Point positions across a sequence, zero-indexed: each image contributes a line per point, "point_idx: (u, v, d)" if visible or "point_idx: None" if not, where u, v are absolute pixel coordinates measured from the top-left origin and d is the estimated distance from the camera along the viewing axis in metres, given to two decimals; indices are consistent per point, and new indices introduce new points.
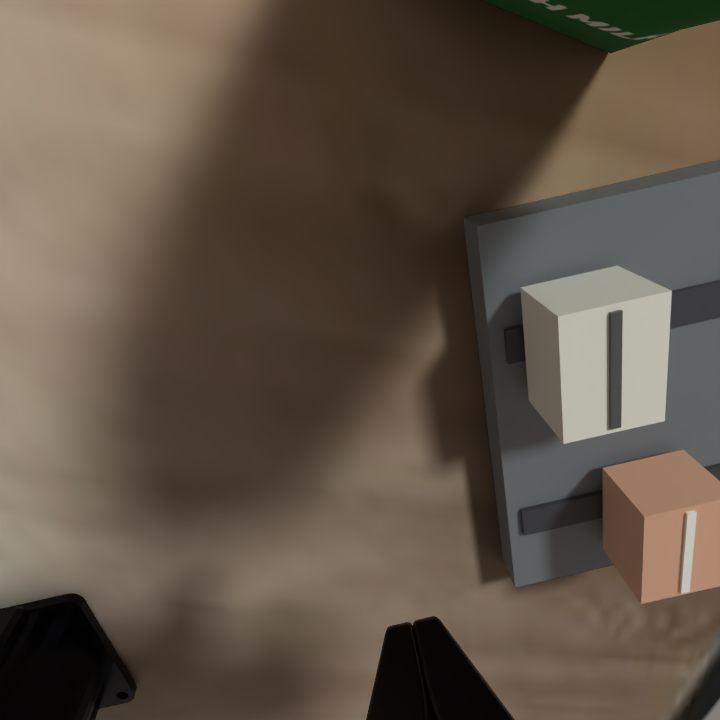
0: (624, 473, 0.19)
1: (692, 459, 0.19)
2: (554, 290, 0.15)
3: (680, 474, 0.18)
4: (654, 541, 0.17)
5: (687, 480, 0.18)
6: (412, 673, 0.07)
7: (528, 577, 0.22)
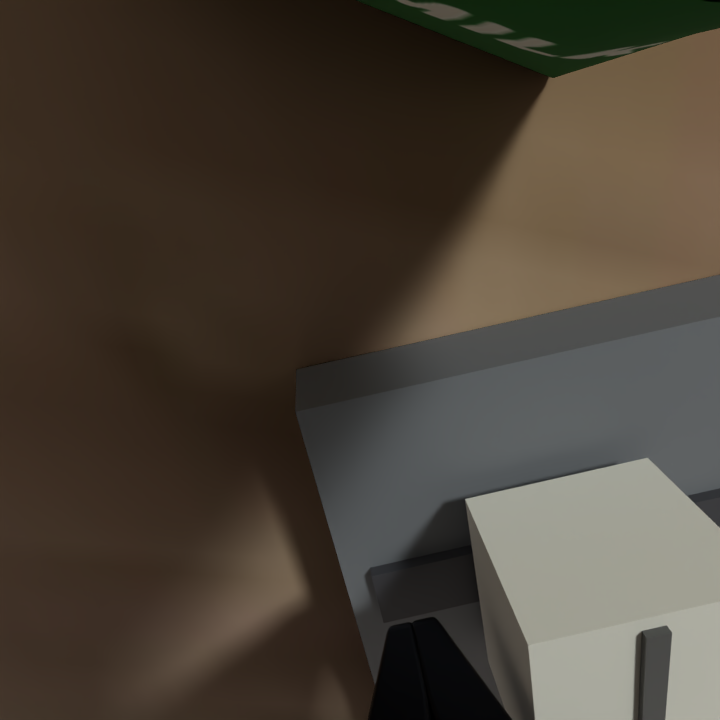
0: None
1: None
2: (527, 527, 0.08)
3: None
4: None
5: None
6: (414, 673, 0.07)
7: None
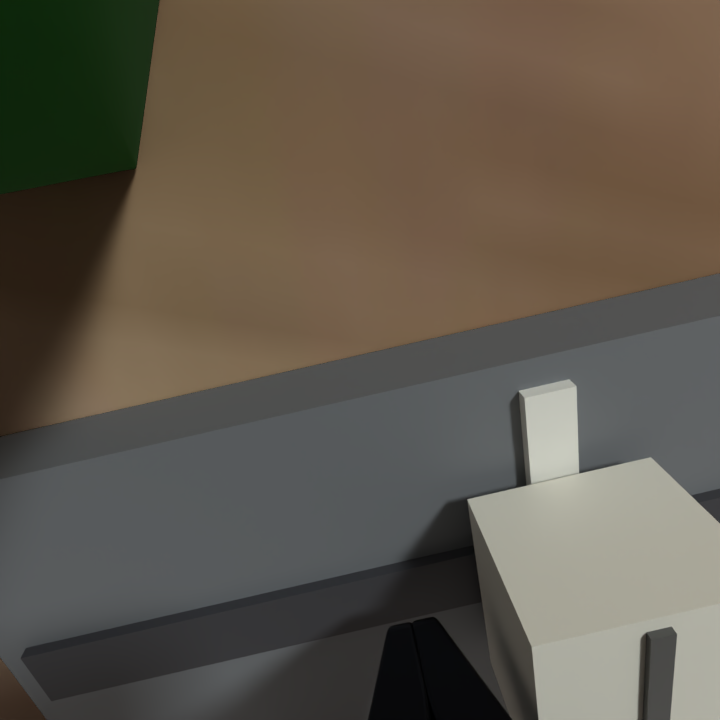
0: None
1: None
2: (529, 527, 0.08)
3: None
4: None
5: None
6: (413, 673, 0.07)
7: None
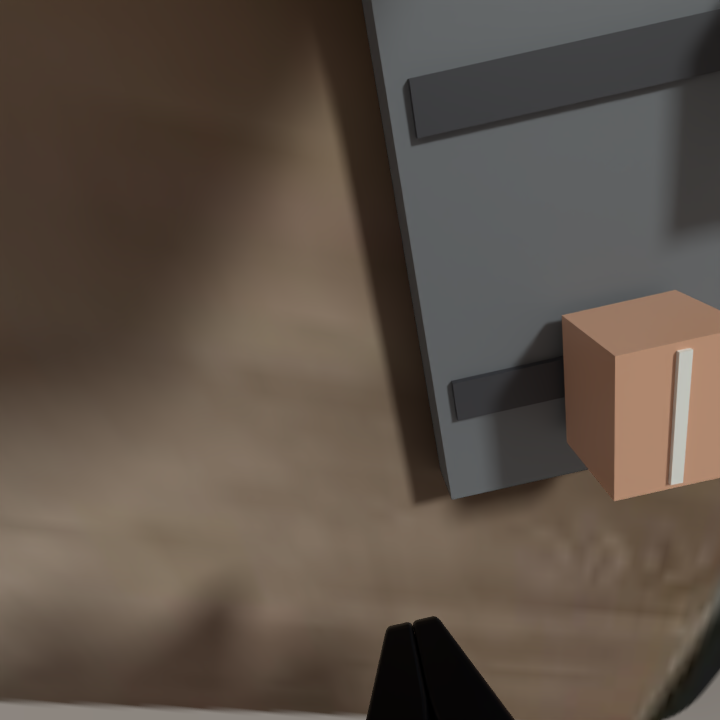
0: (591, 317, 0.13)
1: (688, 297, 0.13)
2: None
3: (670, 312, 0.13)
4: (631, 398, 0.12)
5: (680, 316, 0.12)
6: (412, 673, 0.07)
7: (468, 485, 0.16)
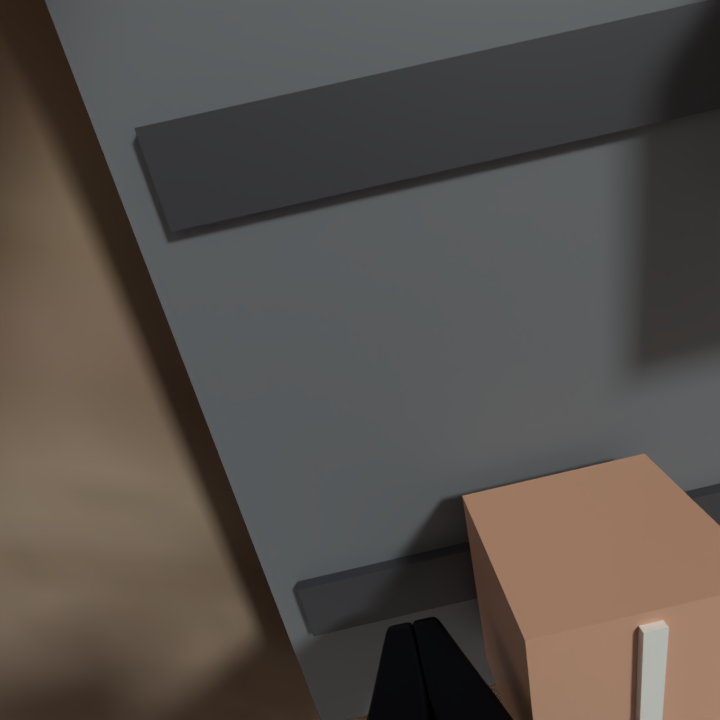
0: (505, 510, 0.08)
1: (664, 475, 0.08)
2: None
3: (632, 514, 0.07)
4: (560, 695, 0.07)
5: (648, 531, 0.07)
6: (413, 673, 0.07)
7: (346, 707, 0.11)
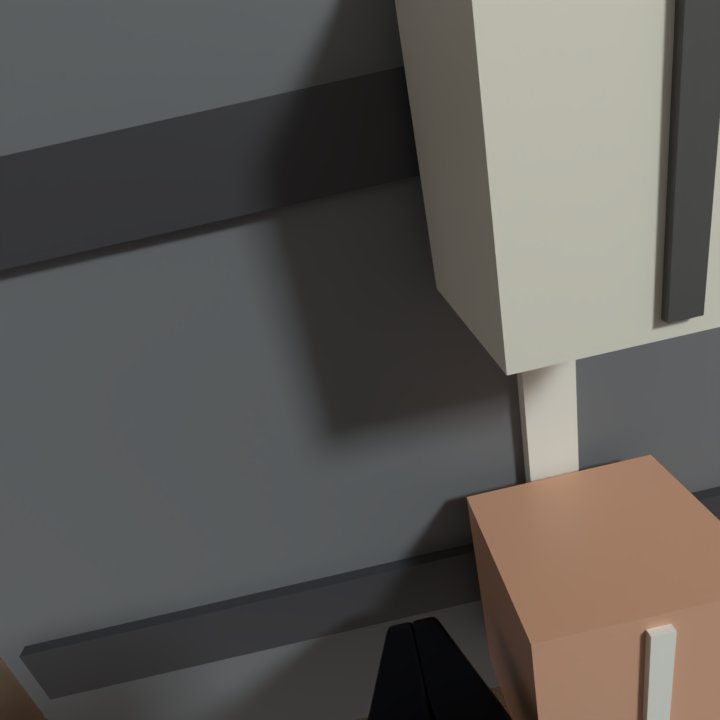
0: (510, 511, 0.08)
1: (671, 477, 0.08)
2: None
3: (639, 516, 0.07)
4: (566, 698, 0.06)
5: (656, 533, 0.07)
6: (413, 673, 0.07)
7: None
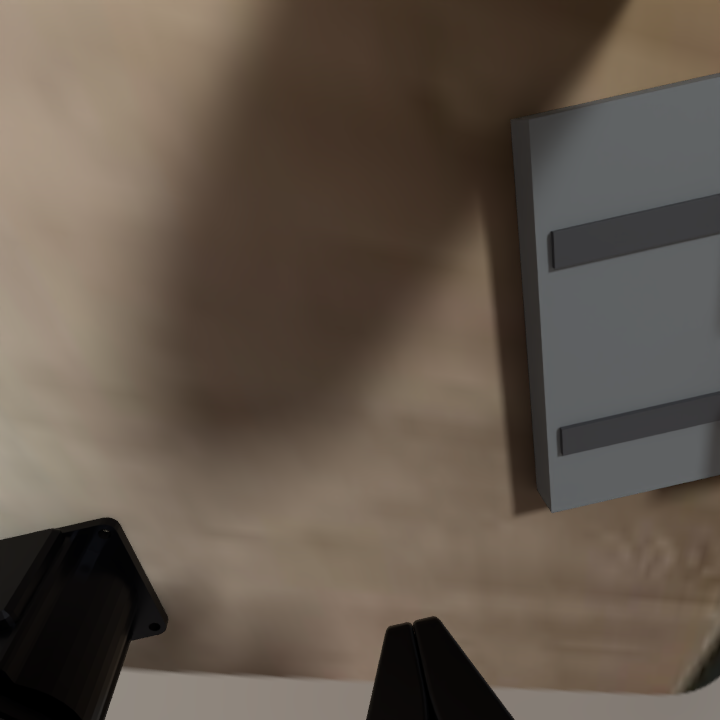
0: None
1: None
2: None
3: None
4: None
5: None
6: (412, 673, 0.07)
7: (565, 502, 0.22)
